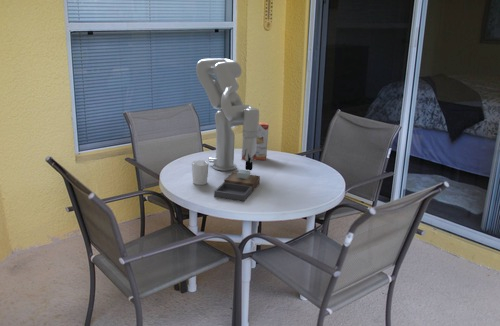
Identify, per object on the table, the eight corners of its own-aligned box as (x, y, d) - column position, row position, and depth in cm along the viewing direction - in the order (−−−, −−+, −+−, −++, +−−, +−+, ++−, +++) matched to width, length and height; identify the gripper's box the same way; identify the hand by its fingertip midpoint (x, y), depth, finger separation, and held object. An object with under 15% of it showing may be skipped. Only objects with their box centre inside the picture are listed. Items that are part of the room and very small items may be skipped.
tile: (237, 177, 235) (237, 172, 234) (240, 174, 239) (240, 169, 239) (247, 178, 234) (247, 174, 233) (250, 175, 238) (250, 171, 237)
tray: (214, 197, 220) (214, 190, 219) (223, 188, 231) (223, 182, 231) (244, 201, 216) (244, 195, 215) (252, 192, 228) (252, 186, 227)
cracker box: (241, 159, 276) (243, 123, 270) (241, 156, 282) (243, 121, 275) (266, 160, 276) (268, 124, 270) (266, 157, 282) (268, 122, 276)
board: (224, 187, 232) (224, 179, 231) (232, 179, 243) (232, 172, 242) (252, 191, 228) (252, 183, 227) (259, 183, 240) (259, 176, 238)
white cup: (195, 186, 232) (195, 166, 229) (189, 181, 239) (189, 161, 236) (210, 184, 236) (211, 164, 233) (204, 179, 242) (204, 159, 239)
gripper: (247, 129, 246) (245, 164, 252) (238, 136, 232) (237, 173, 238) (261, 131, 244) (260, 166, 250) (253, 137, 230) (252, 175, 236)
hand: (248, 169), depth 244 cm, fingers closed
